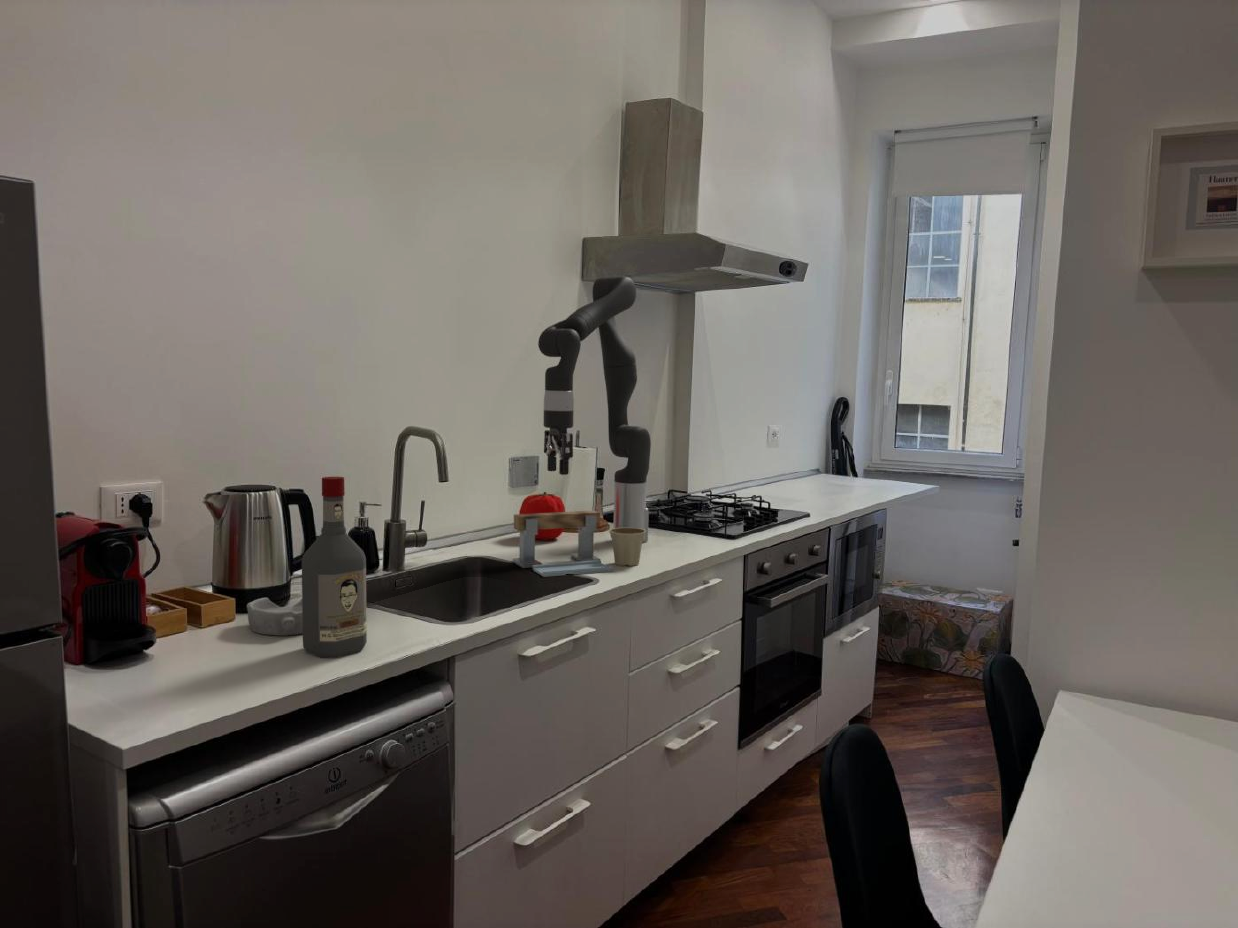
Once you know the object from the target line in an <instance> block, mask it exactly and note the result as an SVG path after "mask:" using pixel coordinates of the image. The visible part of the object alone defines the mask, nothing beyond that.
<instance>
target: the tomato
mask: <svg viewBox="0 0 1238 928" xmlns="http://www.w3.org/2000/svg"><path fill="white" fill-rule="evenodd" d="M556 494H559V492H556ZM556 494H555V493H553V494H552V493H547V492H546V491H543V492H542V493H537V494H530V495H528V496H526V497H525V498H523V500H522V503H521V506H520V508H519V513H518V514H536V513H555V512H566V506H565V504H564V502H563V500H562V499H561V497H559V496H557V495H556ZM564 530H565V528H555V529H538V530H537V531H538V535H535V540H543V541H545V540H555V539H558V538H559V537H560V536H561V535H562V534H563V532H564Z"/></svg>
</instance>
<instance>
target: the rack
mask: <svg viewBox="0 0 1238 928" xmlns="http://www.w3.org/2000/svg"><path fill="white" fill-rule="evenodd" d="M597 527H598V526H597V516H596V515H587V516H584V527H575V528H577V530H578V532H577V533H578V534H577V535H578V537H577V538H578V539H577V541H578V542H577V553H570V558H572V559H574V560H575V561H576V562H582V561H595V560H601V561H602V559H601V558H599V557H597V556H595V555H594V541H595V540H594V534H595V533H594V532H597V529H598V528H597ZM537 528H538V519H537V518H530V519H525V530H521V531H518V530H516V531H517V532H518V533H519V557H516V558H512V563H514V564H516V565H517V566H519V567H521V568H522V569H526V568H529V569H530V568H533V565H542V562H540V561H538V560H537V559H535V558H536V549H535V548H536V539H535V535H538V531H537Z"/></svg>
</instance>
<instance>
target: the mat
mask: <svg viewBox="0 0 1238 928" xmlns="http://www.w3.org/2000/svg"><path fill="white" fill-rule="evenodd" d="M532 571H533V572H534V573H537V574H538V575H540V576H541V577H543V578H548V577H549V578H551V577H559V576H560V577H561V576H567V575H566V574H574V575H585V574H595V573H598V574H599V573H607V572H609V573H610V572H613V571H614V566H613V565H609V566H608V565H606V564H604V563H602V559H601V560H595V561H582V562H579V561H574V562H573V561H572V562H571V561H570V562H560V563H559V562H557V563H544V564H542V565H533V567H532Z"/></svg>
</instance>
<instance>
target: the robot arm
mask: <svg viewBox="0 0 1238 928" xmlns="http://www.w3.org/2000/svg"><path fill="white" fill-rule="evenodd" d="M591 292H592V293H591V294H592V300H593V301H591V302H590V303H587V304H585V305H583V306H581V307H579V308H577V309H576V310H575V311H574V312H572V313H571V314H570V315H569V316H568V317H566V319H563V320H560V321H557V322H556V323H554V324H552V325H550V326H548V327H546V328H545V329H544V330H543V331H542V332H541V333H540V335H539V337H538V343H537V344H538V345H537V346H538V348H539V351H540V353H541V354H543V356H545V357H549V358H560V359H559V361H558V363H557V365H554V366H550V367H548V368H547V369H546V370H545V375H544V395H543V396H544V397H543V427H544V428H546V430H544V432H543V433H544V436H543V437H544V439H543V441H544V442H543V452H544V454H545V455H546V457H547V463H546V464H547V466H546V467H547V471H548V472H556V471H557V457H558V456H559V457H558V458H559V461H558V462H559V463H558V467H559V468H558V469H559V472H558V473H559V475H561V476H563V475H564V476H566V475H568V474H570V473H569V472H570V471H569V467H570V465H569V463H570V461H569V460H571V458H573V457H574V451H573V450H574V445H573V444H574V440H573V439H574V436H573V435H574V434H573V433H570V432H569V433H568V429H572V428H573V427H574V409H575V407H574V406H575V405H574V402H575V401H574V399H575V398H574V391H573V390H574V388H573V387H574V375H575V374H574V373H575V369H576V365H577V362H578V358H579V354H580V352H581V344H582V343H581V342H583V341H585V339H587V338H588V337H589V336H590V335H591V334H593V332H594V331H596V330H597V329H598V331H599V338H600V347H601V355H602V365H603V376H604V377H603V378H604V382H605V390H606V402H607V413H608V414H607V415H608V416H607V420H608V421H607V422H608V423H607V425H608V426H607V428H608V444H609V449H610V452H611V453H612V454H613V455H614V456H616V457H619V458H625V459H627V463H626V465H625V466H624V468H622V469H618V470H617V471H615V472H614V479H613V480H614V484H613V485H614V487H613V488H614V489H613V528H639V529H644V530H645V531H646V532H645V533H644V538H643V540H642V543H644V542H648V541H649V511H650V510H649V508H648V507H647V477H648V475H649V471H650V470H649V469H650V462H651V461H650V458H651V447H652V446H651V444H652V443H651V442H652V441H651V435H650V433H649V431H648V429H647V428H645V427H643V426H637V425H635V426H634V425H629V422H628V421H629V419H628V407H629V402H630V400H631V397H632V396H633V393H634V391H635V388H636V386H637V382H638V372H637V361H636V356H635V353H634V352H633V350H632V347H631V346H630V345H629V344H628V342H627V341H626V339H625V338H624V337H623V335H622V333H621V332H620V330H619V328H618V326H617V324H616V320H615V317H616V316H617V315H619V314H620V313H623V312H624V311H627V310H629V309H631V308H632V307H633V306H634V304H635V301H636V299H637V288H636V285H635V283H634V281H633V279H631V278H630V277H628V276H623V275H621V276H620V275H619V276H618V275H617V276H608V277H605V276H604V277H599V278H597V279H596V280H595V281H594V282H593V286H592V291H591ZM547 429H549V430H547ZM557 455H558V456H557Z"/></svg>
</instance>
